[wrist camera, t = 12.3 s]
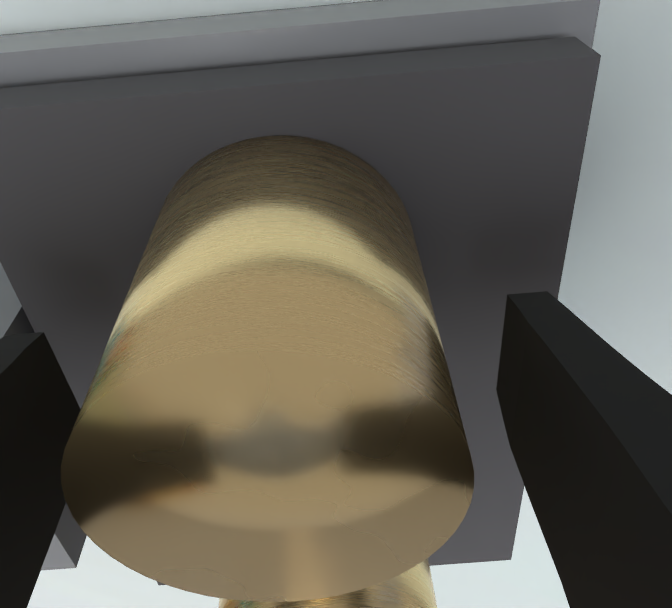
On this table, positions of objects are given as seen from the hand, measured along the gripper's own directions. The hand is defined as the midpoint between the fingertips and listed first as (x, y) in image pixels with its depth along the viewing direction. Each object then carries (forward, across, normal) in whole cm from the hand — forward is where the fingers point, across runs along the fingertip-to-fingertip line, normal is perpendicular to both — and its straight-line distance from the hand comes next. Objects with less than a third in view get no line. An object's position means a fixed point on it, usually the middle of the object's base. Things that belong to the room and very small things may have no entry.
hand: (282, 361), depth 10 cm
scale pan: (+4, 0, +4) cm, 6 cm away
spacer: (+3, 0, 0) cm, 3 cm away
